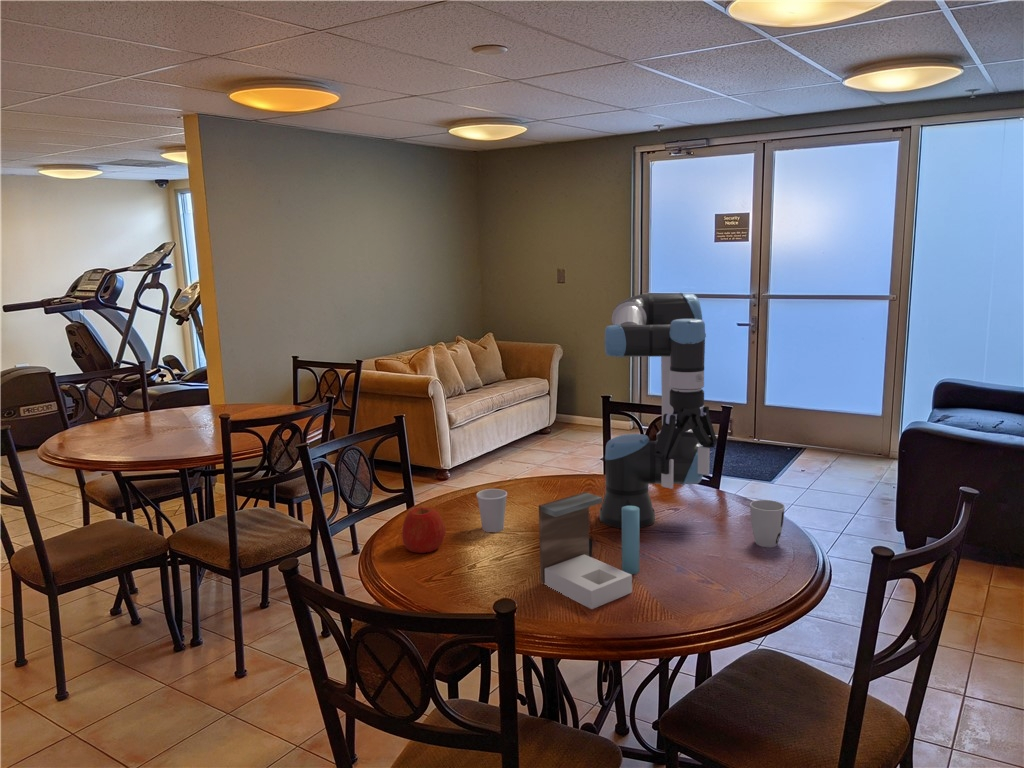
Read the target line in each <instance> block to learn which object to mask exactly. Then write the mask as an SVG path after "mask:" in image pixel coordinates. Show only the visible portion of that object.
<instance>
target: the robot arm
mask: <svg viewBox="0 0 1024 768" xmlns="http://www.w3.org/2000/svg"><path fill="white" fill-rule="evenodd" d="M702 312H703V311H702V307H701V303H700V300H699V298H698V296H697V295H696V294H694V293H686V292H685V293H683V292H679V293H677V292H676V293H651V294H650V293H649V294H648V293H643V294H638V295H633V296H631V297H629V298H626V299H625V300H623V301H621V302H619V303H618V304H617V305H616V307H615V308H613V311H612V314H611V323H612V325H611V324H610V325H607V326H606V327H605V330H604V351H605V355H606V356H607V357H614V358H616V357H617V358H619V359H620V358H628V357H629V358H632V357H633V358H635V357H640V358H641V357H655V358H656V357H660V360H661V361H660V362H661V364H660V371H661V373H660V374H661V376H660V379H661V383H660V384H661V429H660V430H659V431H658V432H657V433H656V440H650V437H649V436H648V435H647V434H643V433H642V434H641V433H629V434H628V433H627V434H624V435H623V434H622V435H619V436H618V435H617V436H615V437H612V438H611V439H609V440H608V441H607V442H606V445H605V455H604V460H605V493H604V497H603V498H602V503H601V506H600V509H599V521H600V522H601V523H602V524H604V525H606V526H609V527H612V528H616V529H617V528H619V529H622V507H624V506H636V507H639V529H641V528H645V527H649V526H650V525H652V524H654V523H655V522H656V512H655V509H654V508H653V503H652V500H651V496H650V493H649V490H650V489H649V485H661V487H662V488H667V489H670V490H672V489H674V485H682V486H685V485H697V484H699V483H701V481H702V479H703V476H710V465H711V464H710V461H711V459H710V458H711V448H715V447H716V446H715V445H716V443H717V439H718V438H717V436H716V434H715V430H714V426H713V422H712V420H711V417H710V407H709V406H707V405H705V390H704V389H703V388H704V387H705V354H706V352H705V351H706V338H707V333H706V323H705V321H704V320H703V313H702Z"/></svg>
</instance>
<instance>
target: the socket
mask: <svg viewBox="0 0 1024 768" xmlns="http://www.w3.org/2000/svg"><path fill="white" fill-rule="evenodd" d="M545 585H547V586H548V588H549V587H550V588H549V589H551V588H552V589H551V590H553V589H554V590H553V591H555V590H556V591H555V592H557V591H558V592H557V593H559V592H560V593H559V594H561V593H562V594H561V595H563V596H565V597H566V598H568V597H569V599H571V600H573V601H574V602H577V604H578V603H579V604H580V605H583V606H584V607H586V608H588V609H590V610H594V609H596V608H598V607H601V606H604V605H605V604H608V603H610V602H613V601H615V600H617V599H620V598H622V597H625V596H627V595H629V594H631V593H633V574H629V573H626V572H624V571H622V569H619V568H617V567H615V566H613V565H610V564H608V563H605V562H603V561H601V560H598V559H596V558H594V557H589V556H587V555H585V554H584V555H581V556H578V557H575V558H572V559H570V560H567V561H564V562H561V563H559V564H556V565H553V566H550V567H547V568H545V584H544V586H545ZM547 586H546V587H547Z"/></svg>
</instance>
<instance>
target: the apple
mask: <svg viewBox="0 0 1024 768" xmlns="http://www.w3.org/2000/svg"><path fill="white" fill-rule="evenodd" d="M401 534H402V542H403V545H404V547H405V548H406V549H407V550H408V551H409V552H411V553H417V554H426V552H427V553H431V552H433V551H436V550H437V549H439V548H440V546H441V545H442V544H443V541H444V540H445V539H444V538H445V536H446V525H445V523H444V521H443V518H442V517H441V515H440V513H439V512H438V511H436V510H435V509H433V508H431V507H425V506H423V507H415V508H412V509H411V510H409V512H408V513H407V514H406V516H405V517H404V521H403V525H402V533H401Z"/></svg>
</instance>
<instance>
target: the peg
mask: <svg viewBox="0 0 1024 768" xmlns="http://www.w3.org/2000/svg"><path fill="white" fill-rule="evenodd" d="M621 570H622V571H624V572H626V573H629V574H631V575H636V574H639V572H640V528H639V507H636V506H624V507H622V528H621Z"/></svg>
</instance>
